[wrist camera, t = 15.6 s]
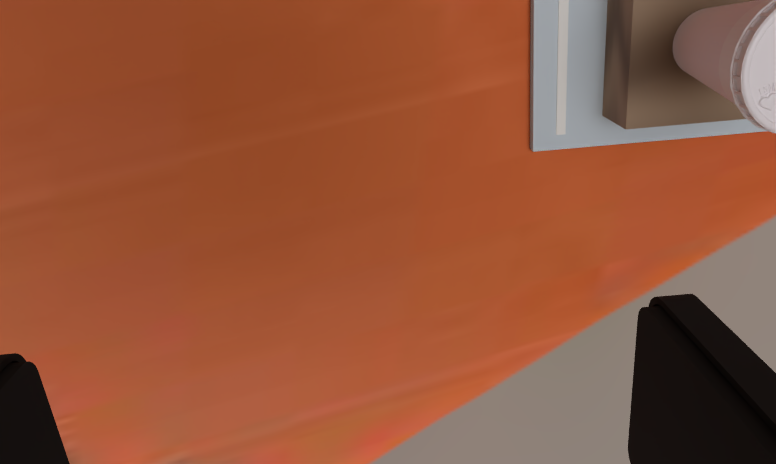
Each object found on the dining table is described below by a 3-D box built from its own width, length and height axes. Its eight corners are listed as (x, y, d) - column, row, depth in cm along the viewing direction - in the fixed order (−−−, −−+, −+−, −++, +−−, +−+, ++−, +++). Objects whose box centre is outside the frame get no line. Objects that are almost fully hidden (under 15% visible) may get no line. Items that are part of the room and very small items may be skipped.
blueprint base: (530, -64, 38) (553, -69, 34) (830, -90, 38) (892, -99, 34) (530, 148, 43) (549, 168, 39) (796, 125, 43) (846, 142, 39)
